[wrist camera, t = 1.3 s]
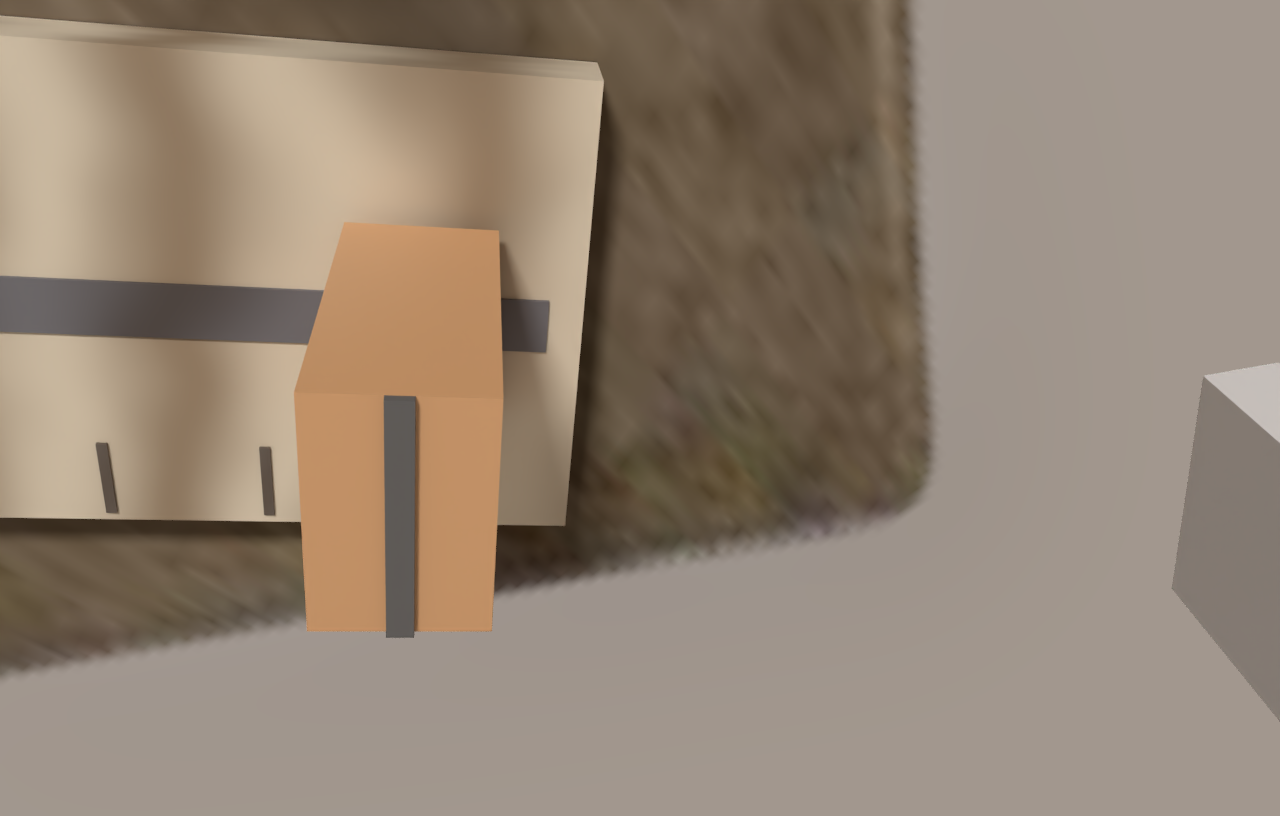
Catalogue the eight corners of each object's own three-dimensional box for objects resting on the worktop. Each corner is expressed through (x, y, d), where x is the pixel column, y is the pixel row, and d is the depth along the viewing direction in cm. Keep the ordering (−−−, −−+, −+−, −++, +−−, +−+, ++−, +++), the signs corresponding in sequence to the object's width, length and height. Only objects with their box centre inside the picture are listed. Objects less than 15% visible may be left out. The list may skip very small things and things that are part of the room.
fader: (349, 419, 32) (306, 637, 24) (344, 222, 29) (292, 397, 21) (490, 423, 33) (492, 637, 25) (498, 230, 30) (503, 403, 22)
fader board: (-202, 475, 34) (-241, 516, 32) (-358, -13, 27) (-418, 5, 25) (561, 490, 37) (565, 527, 36) (597, 62, 30) (604, 82, 29)
